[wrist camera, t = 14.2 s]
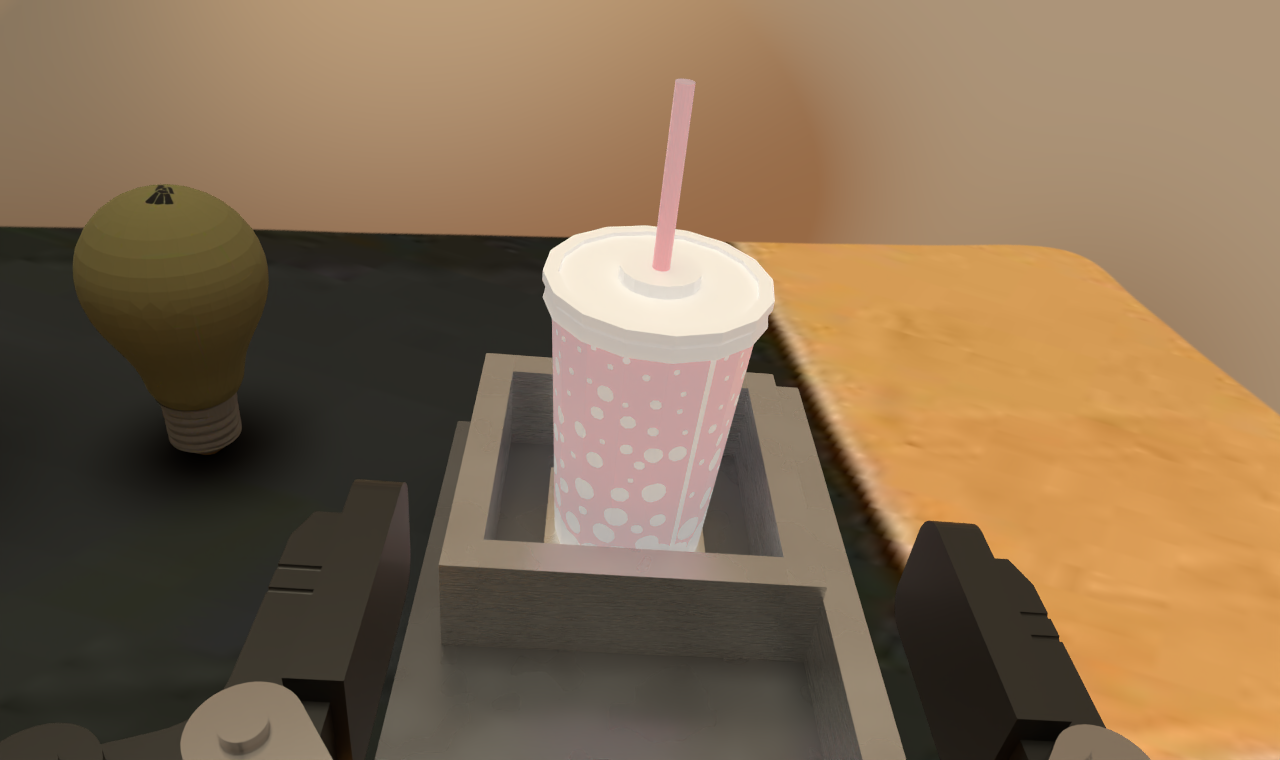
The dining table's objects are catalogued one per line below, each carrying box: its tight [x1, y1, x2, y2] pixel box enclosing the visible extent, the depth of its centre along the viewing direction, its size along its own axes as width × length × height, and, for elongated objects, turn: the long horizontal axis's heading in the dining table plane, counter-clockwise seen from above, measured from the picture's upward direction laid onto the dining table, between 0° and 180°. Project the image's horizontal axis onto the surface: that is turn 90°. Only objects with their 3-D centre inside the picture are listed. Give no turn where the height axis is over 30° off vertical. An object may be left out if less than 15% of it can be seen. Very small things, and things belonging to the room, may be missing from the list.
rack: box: [375, 353, 906, 760], centre depth 25 cm, size 12×18×5 cm, turn 1°
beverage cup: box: [542, 79, 775, 552], centre depth 25 cm, size 6×6×14 cm
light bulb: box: [73, 184, 269, 455], centre depth 30 cm, size 6×6×10 cm
